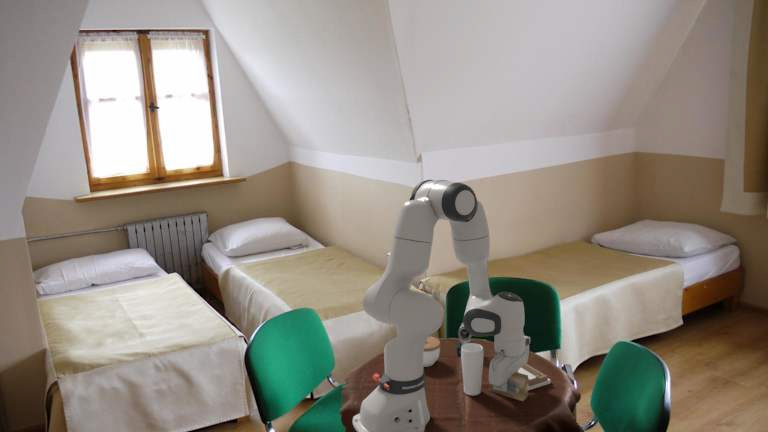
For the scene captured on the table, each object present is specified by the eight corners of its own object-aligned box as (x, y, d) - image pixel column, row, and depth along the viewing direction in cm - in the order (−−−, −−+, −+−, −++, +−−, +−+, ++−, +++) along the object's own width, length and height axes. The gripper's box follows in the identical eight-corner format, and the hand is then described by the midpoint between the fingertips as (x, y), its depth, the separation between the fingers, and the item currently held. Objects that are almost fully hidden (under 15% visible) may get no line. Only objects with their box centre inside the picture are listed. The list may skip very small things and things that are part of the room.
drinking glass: (482, 398, 186) (482, 352, 182) (460, 396, 187) (460, 351, 184) (483, 387, 192) (483, 343, 189) (462, 386, 194) (461, 342, 190)
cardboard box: (522, 401, 183) (522, 380, 182) (489, 391, 190) (489, 370, 188) (527, 396, 186) (528, 375, 185) (495, 386, 193) (495, 366, 191)
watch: (457, 358, 213) (457, 328, 211) (457, 348, 221) (456, 319, 219) (473, 358, 213) (473, 329, 210) (472, 348, 220) (472, 320, 218)
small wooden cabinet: (525, 391, 189) (526, 380, 188) (494, 370, 203) (494, 360, 202) (550, 383, 194) (550, 372, 193) (517, 363, 207) (517, 353, 207)
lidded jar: (405, 358, 214) (404, 333, 212) (434, 354, 217) (433, 329, 215) (415, 372, 204) (414, 346, 202) (445, 367, 207) (444, 341, 205)
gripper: (502, 360, 175) (502, 404, 178) (532, 335, 190) (532, 376, 193) (483, 355, 178) (483, 398, 181) (514, 331, 194) (513, 371, 197)
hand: (508, 386), depth 187 cm, fingers closed on cardboard box, 4 cm apart
